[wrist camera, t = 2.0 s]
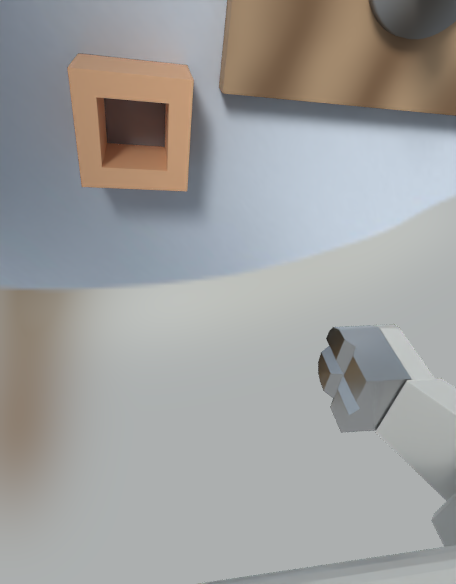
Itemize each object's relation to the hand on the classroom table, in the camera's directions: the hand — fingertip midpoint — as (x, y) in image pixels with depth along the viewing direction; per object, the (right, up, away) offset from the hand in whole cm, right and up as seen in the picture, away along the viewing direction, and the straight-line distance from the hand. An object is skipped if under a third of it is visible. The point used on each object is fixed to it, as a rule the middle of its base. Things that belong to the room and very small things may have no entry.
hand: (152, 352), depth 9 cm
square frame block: (-4, +12, +15) cm, 20 cm away
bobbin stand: (+12, +19, +13) cm, 26 cm away
